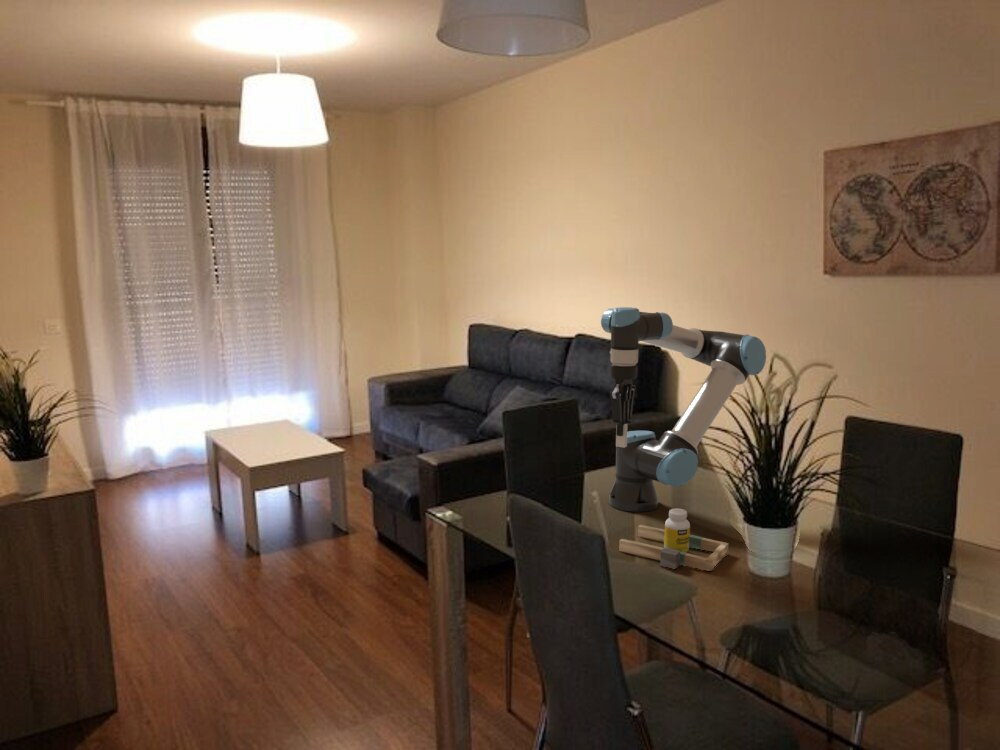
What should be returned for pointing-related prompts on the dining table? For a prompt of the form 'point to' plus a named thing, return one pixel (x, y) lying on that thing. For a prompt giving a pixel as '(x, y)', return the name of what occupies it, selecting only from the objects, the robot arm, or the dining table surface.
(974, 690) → the dining table surface
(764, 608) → the dining table surface
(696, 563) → the beam track
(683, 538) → the pill bottle
